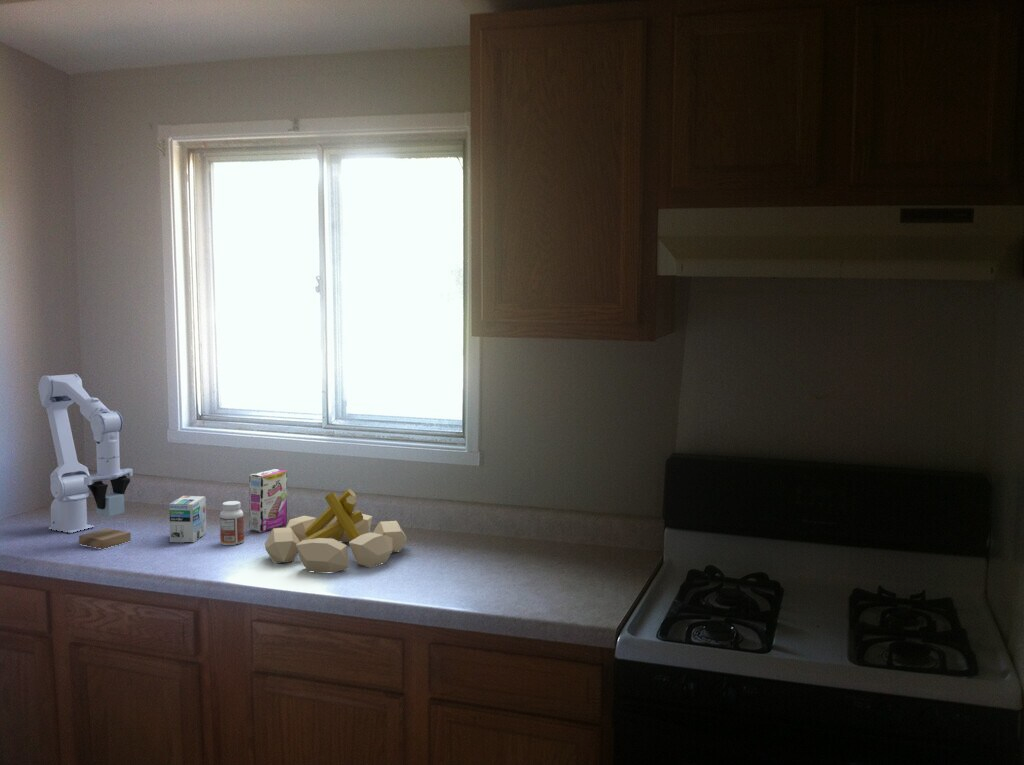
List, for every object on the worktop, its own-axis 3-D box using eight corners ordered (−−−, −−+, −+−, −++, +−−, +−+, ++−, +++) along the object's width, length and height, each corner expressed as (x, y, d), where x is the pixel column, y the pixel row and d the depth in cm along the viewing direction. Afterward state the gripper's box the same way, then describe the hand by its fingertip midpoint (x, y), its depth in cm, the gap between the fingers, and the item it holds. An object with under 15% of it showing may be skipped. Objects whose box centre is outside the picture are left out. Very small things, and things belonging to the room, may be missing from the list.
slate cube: (96, 514, 254) (95, 496, 253) (111, 510, 258) (111, 492, 258) (109, 516, 252) (108, 498, 251) (124, 512, 256) (124, 494, 256)
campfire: (429, 551, 250) (429, 488, 249) (339, 584, 222) (339, 513, 221) (333, 531, 270) (333, 472, 268) (240, 558, 242) (238, 493, 240)
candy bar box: (262, 533, 265) (261, 476, 264) (248, 531, 268) (248, 474, 266) (288, 524, 275) (287, 469, 274) (274, 522, 278) (274, 468, 276)
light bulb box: (193, 543, 255) (192, 504, 253) (169, 543, 255) (168, 503, 254) (207, 533, 265) (206, 495, 264) (183, 532, 265) (182, 495, 264)
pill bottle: (238, 538, 260) (237, 499, 259) (247, 543, 255) (247, 503, 254) (216, 542, 256) (216, 502, 255) (225, 547, 251) (225, 506, 250)
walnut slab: (79, 546, 251) (79, 535, 251) (107, 538, 259) (107, 528, 259) (103, 551, 247) (102, 540, 247) (130, 543, 255) (130, 532, 255)
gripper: (96, 462, 245) (98, 513, 247) (140, 454, 258) (141, 502, 260) (77, 460, 248) (79, 510, 250) (121, 451, 261) (123, 500, 263)
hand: (109, 506), depth 255 cm, fingers closed on slate cube, 5 cm apart
